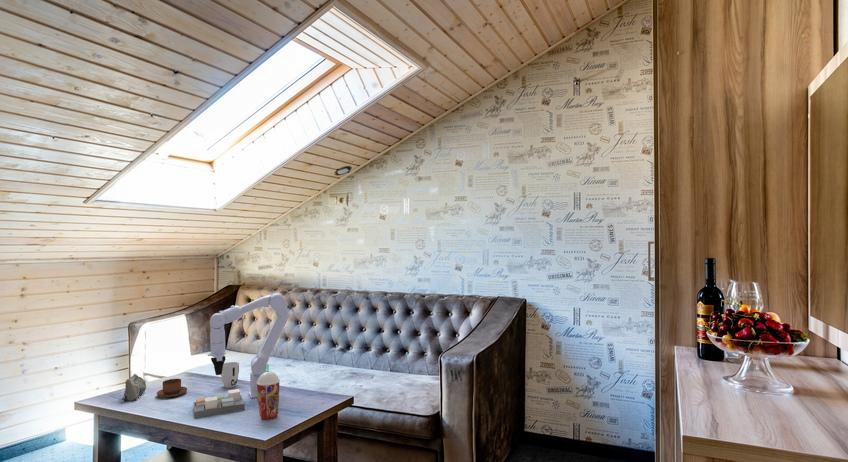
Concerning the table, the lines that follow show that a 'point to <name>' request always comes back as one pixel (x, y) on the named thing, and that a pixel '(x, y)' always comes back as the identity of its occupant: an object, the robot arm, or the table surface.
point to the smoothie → (268, 395)
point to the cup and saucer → (171, 388)
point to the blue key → (227, 402)
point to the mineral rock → (134, 387)
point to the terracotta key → (200, 401)
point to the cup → (230, 374)
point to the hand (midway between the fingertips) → (218, 374)
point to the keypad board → (218, 408)
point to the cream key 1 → (210, 403)
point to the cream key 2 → (234, 394)
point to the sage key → (219, 398)
